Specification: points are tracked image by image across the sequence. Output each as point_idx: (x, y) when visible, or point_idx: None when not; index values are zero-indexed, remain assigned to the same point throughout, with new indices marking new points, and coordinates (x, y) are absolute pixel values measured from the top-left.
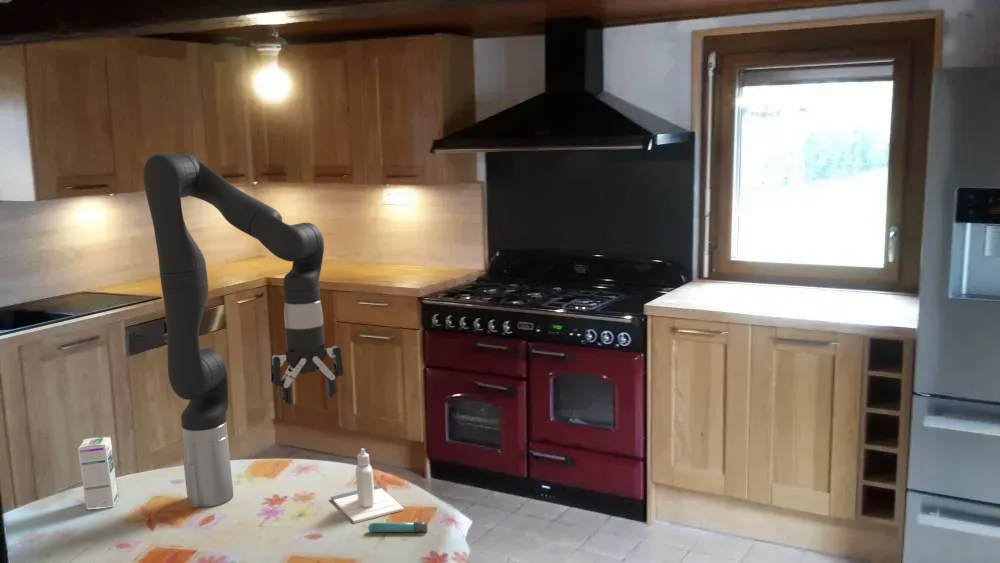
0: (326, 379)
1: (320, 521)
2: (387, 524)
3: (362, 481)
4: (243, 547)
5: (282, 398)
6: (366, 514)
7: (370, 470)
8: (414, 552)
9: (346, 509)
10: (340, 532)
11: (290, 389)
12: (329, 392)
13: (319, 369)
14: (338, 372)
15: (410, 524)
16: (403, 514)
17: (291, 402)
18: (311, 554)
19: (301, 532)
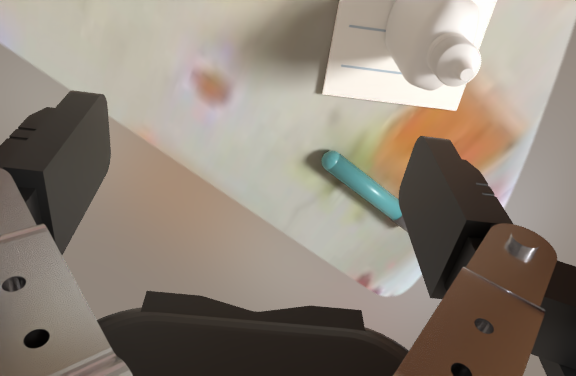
0: (453, 249)
1: (259, 21)
2: (355, 188)
3: (402, 74)
4: (35, 27)
5: (27, 122)
6: (367, 81)
7: (442, 84)
8: (340, 263)
9: (346, 16)
10: (272, 111)
11: (61, 248)
12: (407, 227)
13: (461, 269)
14: (552, 369)
15: (390, 215)
16: (437, 126)
17: (102, 176)
18: (176, 160)
19: (192, 48)
